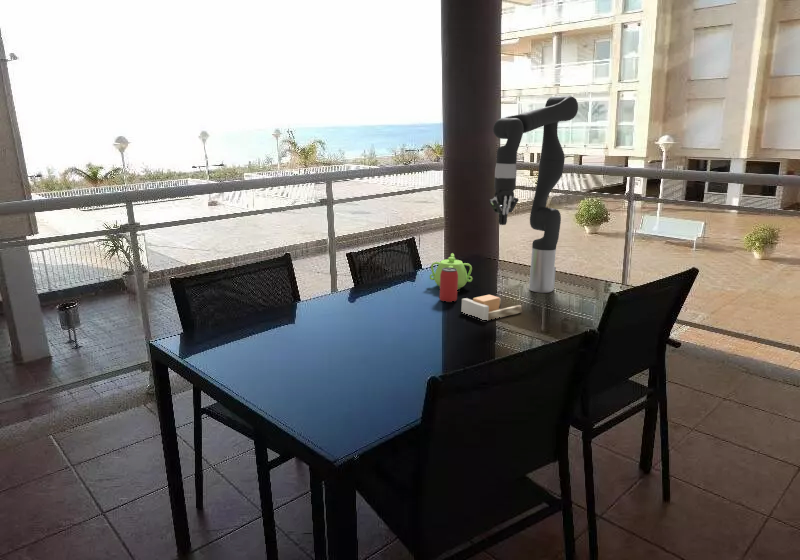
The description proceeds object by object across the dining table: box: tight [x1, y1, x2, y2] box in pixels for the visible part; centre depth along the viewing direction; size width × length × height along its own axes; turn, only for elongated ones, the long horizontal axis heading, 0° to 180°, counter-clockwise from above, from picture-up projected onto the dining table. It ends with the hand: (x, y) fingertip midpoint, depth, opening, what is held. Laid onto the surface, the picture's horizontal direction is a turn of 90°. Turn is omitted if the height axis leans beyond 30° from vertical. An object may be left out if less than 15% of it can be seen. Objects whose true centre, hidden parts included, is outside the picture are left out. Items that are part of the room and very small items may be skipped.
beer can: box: [439, 268, 458, 303], centre depth 217 cm, size 7×7×12 cm
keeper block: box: [472, 294, 501, 312], centre depth 202 cm, size 8×5×6 cm, turn 128°
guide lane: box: [487, 298, 523, 321], centre depth 204 cm, size 16×11×2 cm
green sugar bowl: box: [429, 252, 473, 289], centre depth 235 cm, size 16×14×13 cm
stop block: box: [460, 297, 489, 321], centre depth 199 cm, size 2×11×5 cm, turn 35°
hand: (502, 224), depth 211 cm, fingers closed
